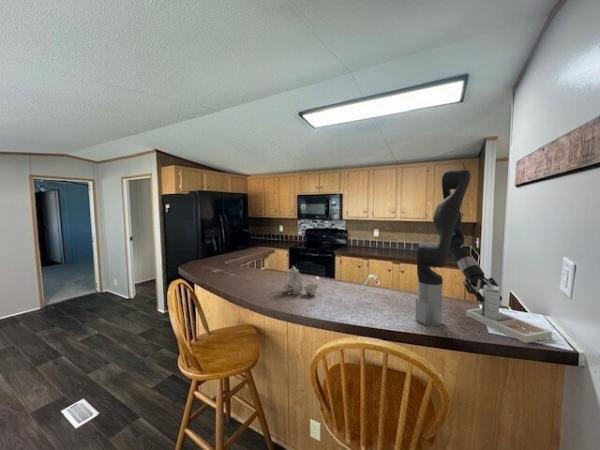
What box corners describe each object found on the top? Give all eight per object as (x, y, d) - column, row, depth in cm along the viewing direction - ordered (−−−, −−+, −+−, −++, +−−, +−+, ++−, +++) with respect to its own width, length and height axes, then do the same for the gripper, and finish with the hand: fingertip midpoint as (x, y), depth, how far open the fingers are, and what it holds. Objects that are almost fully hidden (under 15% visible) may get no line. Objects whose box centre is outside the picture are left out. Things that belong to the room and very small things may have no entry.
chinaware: (323, 298, 143) (325, 269, 143) (299, 301, 134) (301, 270, 134) (296, 286, 167) (298, 261, 167) (274, 288, 157) (275, 262, 157)
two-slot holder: (525, 343, 90) (525, 335, 90) (465, 315, 114) (466, 309, 113) (551, 338, 93) (551, 331, 93) (488, 312, 116) (488, 306, 116)
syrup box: (482, 315, 113) (483, 283, 112) (499, 319, 109) (500, 286, 108) (481, 320, 109) (482, 287, 108) (498, 324, 105) (499, 289, 104)
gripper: (461, 265, 115) (482, 298, 104) (488, 263, 117) (512, 296, 106) (452, 273, 121) (471, 306, 110) (478, 272, 123) (500, 303, 112)
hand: (491, 301), depth 108 cm, fingers closed on syrup box, 8 cm apart
